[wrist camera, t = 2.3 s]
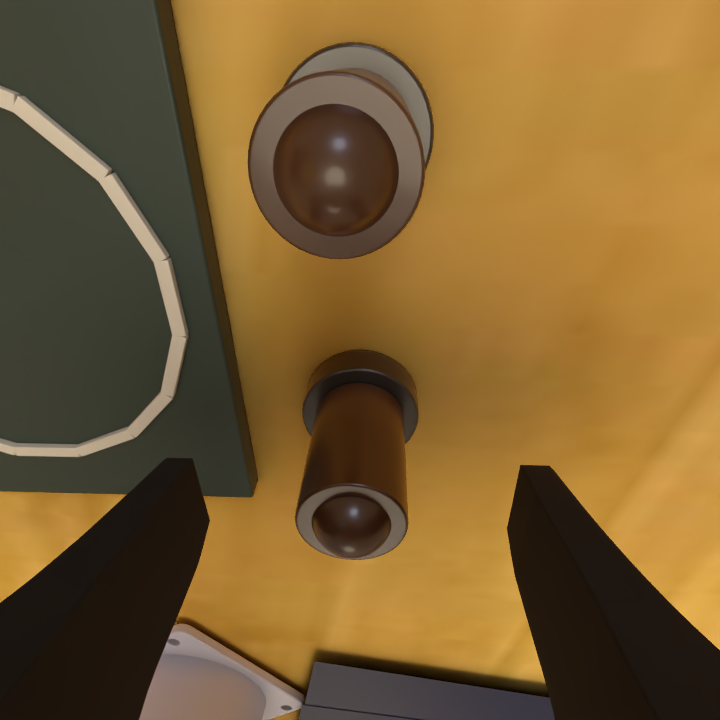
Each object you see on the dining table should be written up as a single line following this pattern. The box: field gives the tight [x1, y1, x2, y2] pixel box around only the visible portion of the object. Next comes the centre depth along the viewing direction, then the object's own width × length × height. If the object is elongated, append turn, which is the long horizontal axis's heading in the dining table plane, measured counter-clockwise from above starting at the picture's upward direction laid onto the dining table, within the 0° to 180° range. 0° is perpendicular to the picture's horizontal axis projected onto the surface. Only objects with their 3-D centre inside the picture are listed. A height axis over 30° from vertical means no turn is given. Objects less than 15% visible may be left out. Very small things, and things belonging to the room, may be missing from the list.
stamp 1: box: [248, 42, 434, 259], centre depth 8 cm, size 3×3×5 cm
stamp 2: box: [295, 350, 418, 560], centre depth 12 cm, size 3×3×5 cm
